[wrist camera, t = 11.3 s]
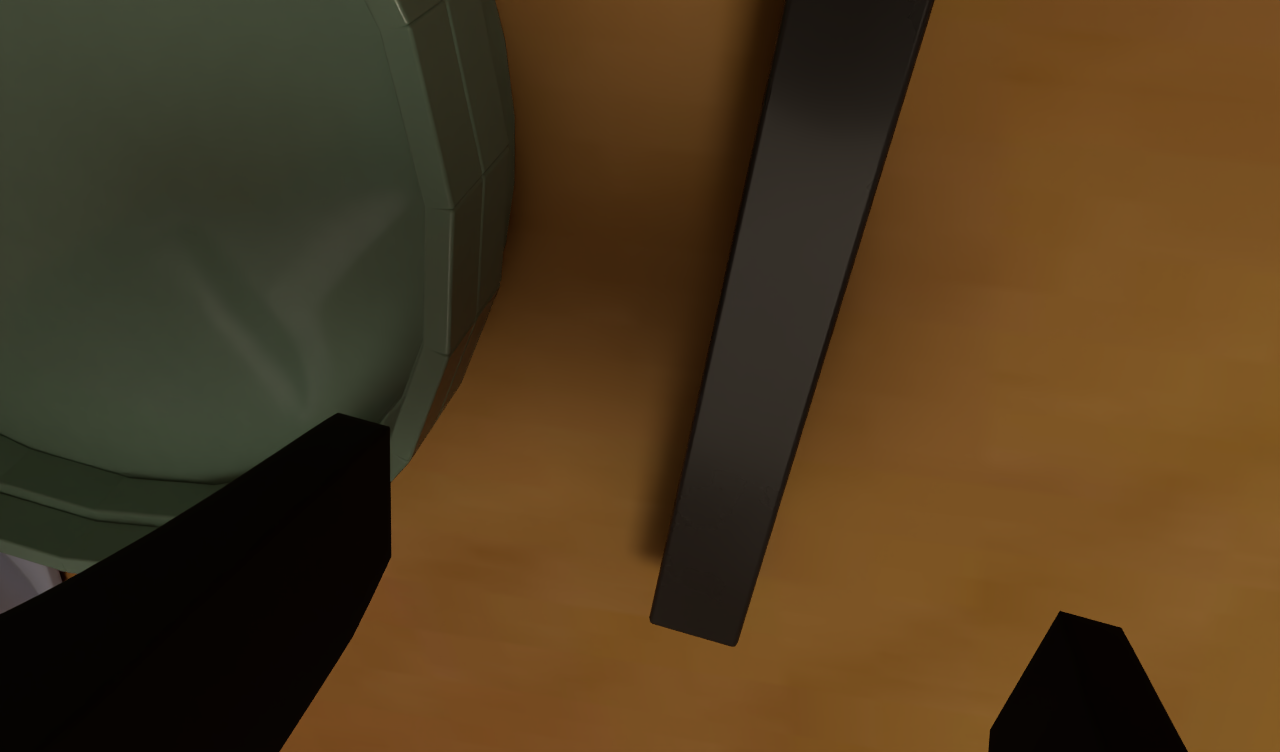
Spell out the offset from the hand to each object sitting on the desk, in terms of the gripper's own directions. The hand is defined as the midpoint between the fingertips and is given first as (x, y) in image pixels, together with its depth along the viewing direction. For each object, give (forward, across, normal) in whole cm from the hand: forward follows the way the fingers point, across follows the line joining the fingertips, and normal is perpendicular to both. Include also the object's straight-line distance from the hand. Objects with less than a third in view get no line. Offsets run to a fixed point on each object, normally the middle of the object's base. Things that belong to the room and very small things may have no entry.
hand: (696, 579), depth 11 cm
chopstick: (+8, 0, 0) cm, 8 cm away
